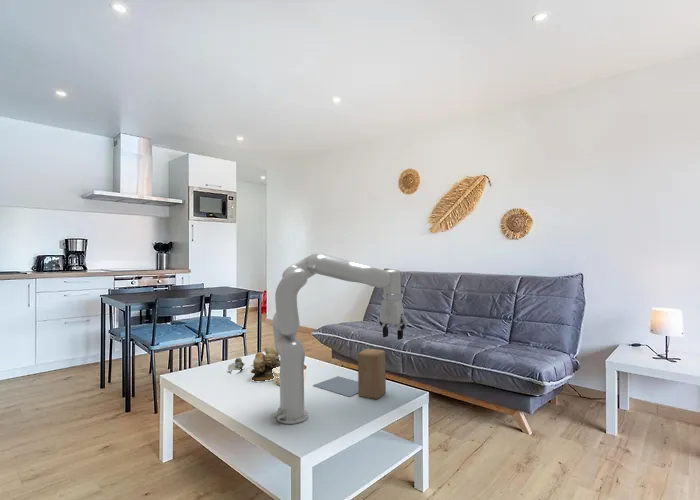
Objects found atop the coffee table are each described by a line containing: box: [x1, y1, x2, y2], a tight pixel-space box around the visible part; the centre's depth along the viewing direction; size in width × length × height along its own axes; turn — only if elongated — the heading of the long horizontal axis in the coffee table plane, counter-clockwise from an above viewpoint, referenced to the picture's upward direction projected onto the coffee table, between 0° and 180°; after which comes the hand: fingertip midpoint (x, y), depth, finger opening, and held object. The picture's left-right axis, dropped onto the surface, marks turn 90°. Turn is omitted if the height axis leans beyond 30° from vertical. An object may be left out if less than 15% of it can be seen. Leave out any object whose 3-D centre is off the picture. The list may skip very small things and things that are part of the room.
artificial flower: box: [227, 357, 253, 371], centre depth 224 cm, size 9×22×10 cm, turn 124°
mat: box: [312, 375, 359, 398], centre depth 194 cm, size 18×24×1 cm
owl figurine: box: [250, 345, 280, 381], centre depth 209 cm, size 18×12×17 cm, turn 136°
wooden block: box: [357, 348, 387, 400], centre depth 182 cm, size 10×10×20 cm
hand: (392, 337), depth 174 cm, fingers open, 7 cm apart
